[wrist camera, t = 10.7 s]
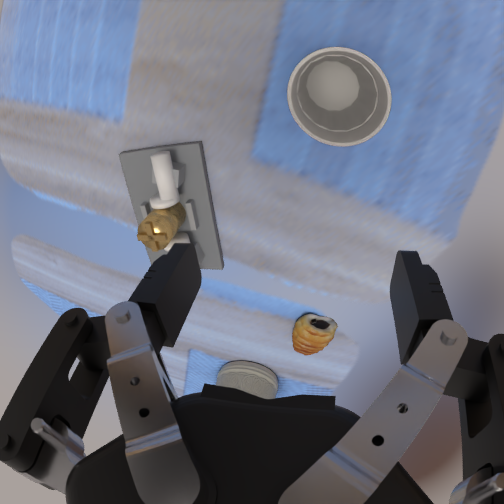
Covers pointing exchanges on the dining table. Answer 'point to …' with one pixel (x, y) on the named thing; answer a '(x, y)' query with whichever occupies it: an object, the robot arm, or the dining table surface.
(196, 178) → the shaft rig
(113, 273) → the dining table surface
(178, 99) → the dining table surface
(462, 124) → the dining table surface
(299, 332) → the pastry
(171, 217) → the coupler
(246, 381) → the jar
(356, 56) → the cup
